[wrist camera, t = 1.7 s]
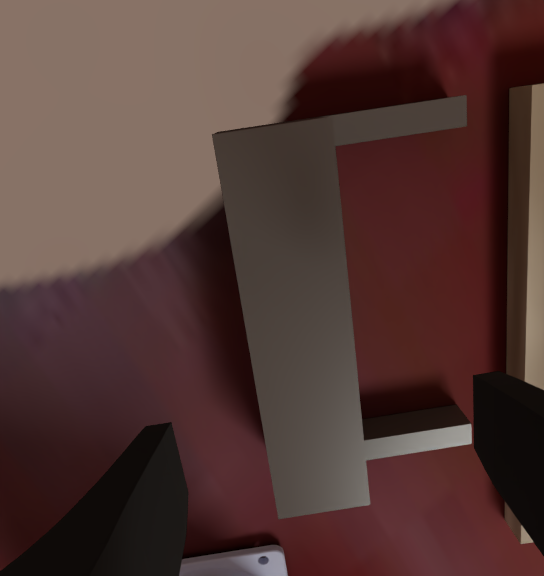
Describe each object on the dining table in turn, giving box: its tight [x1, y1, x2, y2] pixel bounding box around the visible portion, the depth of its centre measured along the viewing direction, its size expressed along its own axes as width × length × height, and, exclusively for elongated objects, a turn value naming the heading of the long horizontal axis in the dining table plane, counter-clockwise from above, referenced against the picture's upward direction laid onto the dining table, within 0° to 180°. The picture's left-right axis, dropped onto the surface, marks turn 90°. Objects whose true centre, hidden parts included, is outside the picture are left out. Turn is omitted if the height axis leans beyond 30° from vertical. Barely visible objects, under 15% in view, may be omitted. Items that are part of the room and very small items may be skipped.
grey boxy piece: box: [212, 95, 472, 519], centre depth 18 cm, size 8×14×4 cm, turn 8°
